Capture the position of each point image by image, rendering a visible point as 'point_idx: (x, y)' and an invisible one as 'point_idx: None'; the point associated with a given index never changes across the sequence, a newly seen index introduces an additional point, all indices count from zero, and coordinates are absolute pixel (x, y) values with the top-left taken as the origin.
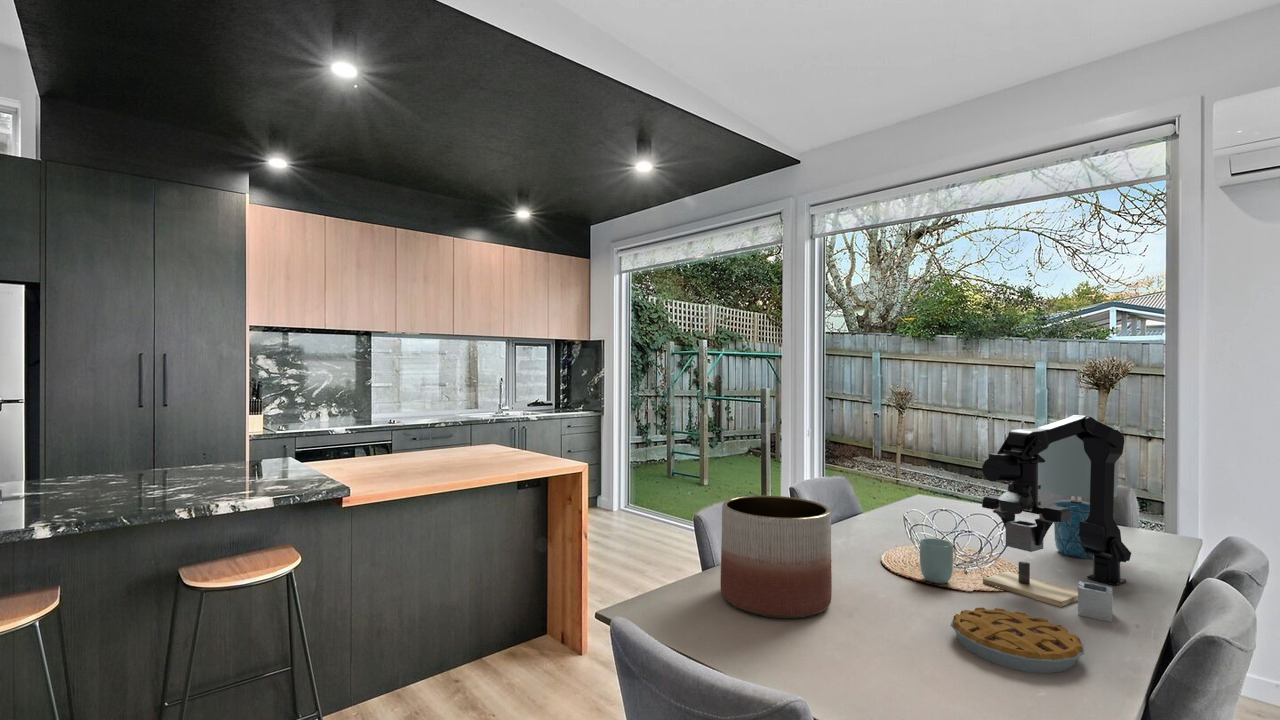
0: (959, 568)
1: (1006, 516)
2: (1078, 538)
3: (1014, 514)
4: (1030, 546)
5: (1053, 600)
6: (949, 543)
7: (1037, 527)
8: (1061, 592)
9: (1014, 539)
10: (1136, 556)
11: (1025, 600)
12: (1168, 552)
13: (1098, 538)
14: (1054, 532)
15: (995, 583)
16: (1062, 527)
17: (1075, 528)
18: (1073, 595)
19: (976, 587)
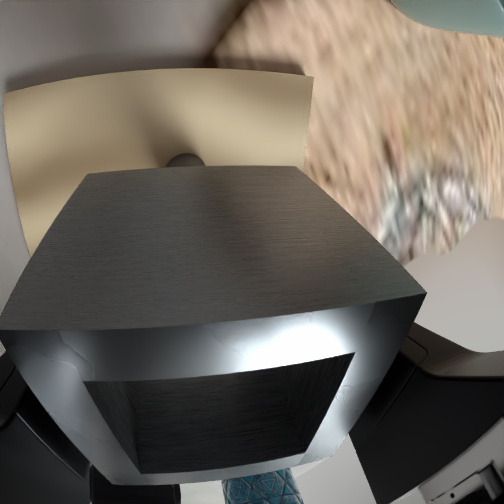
0: (410, 177)
1: (448, 396)
2: (243, 482)
3: (372, 477)
4: (80, 191)
5: (26, 88)
6: (499, 4)
7: (13, 399)
8: (54, 196)
9: (238, 194)
10: (195, 485)
11: (107, 28)
12: (186, 500)
13: (107, 491)
14: (291, 475)
15: (258, 71)
16: (276, 490)
17: (252, 498)
18: (23, 205)
19: (297, 8)
